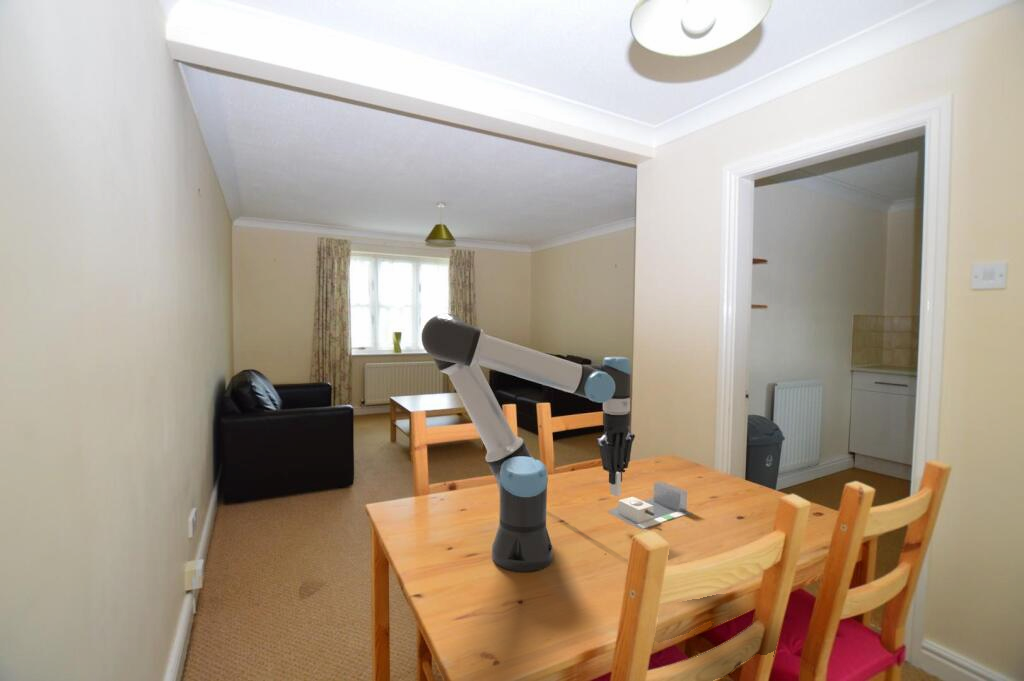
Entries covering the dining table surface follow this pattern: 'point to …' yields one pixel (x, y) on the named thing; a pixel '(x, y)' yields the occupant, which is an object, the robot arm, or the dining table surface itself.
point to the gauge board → (659, 517)
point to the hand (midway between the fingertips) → (615, 494)
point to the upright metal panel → (670, 496)
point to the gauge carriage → (635, 509)
